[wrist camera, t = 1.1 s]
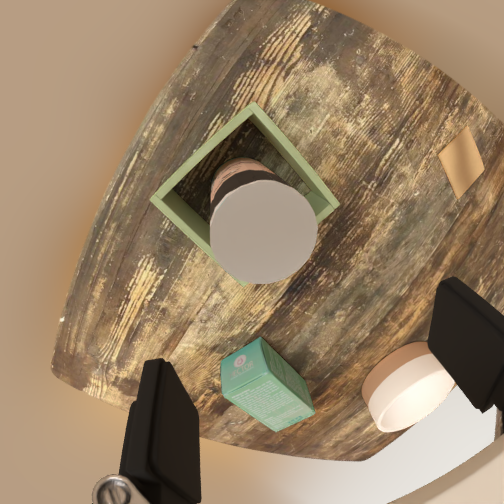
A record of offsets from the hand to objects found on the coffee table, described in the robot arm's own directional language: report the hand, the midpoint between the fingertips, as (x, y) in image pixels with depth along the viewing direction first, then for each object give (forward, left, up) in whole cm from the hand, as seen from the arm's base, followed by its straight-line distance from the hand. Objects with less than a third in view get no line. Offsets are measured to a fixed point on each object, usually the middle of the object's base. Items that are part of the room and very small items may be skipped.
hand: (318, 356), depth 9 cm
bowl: (+1, +46, -25) cm, 53 cm away
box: (+16, +22, -25) cm, 37 cm away
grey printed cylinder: (0, 0, -25) cm, 25 cm away
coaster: (-27, +17, -25) cm, 41 cm away
